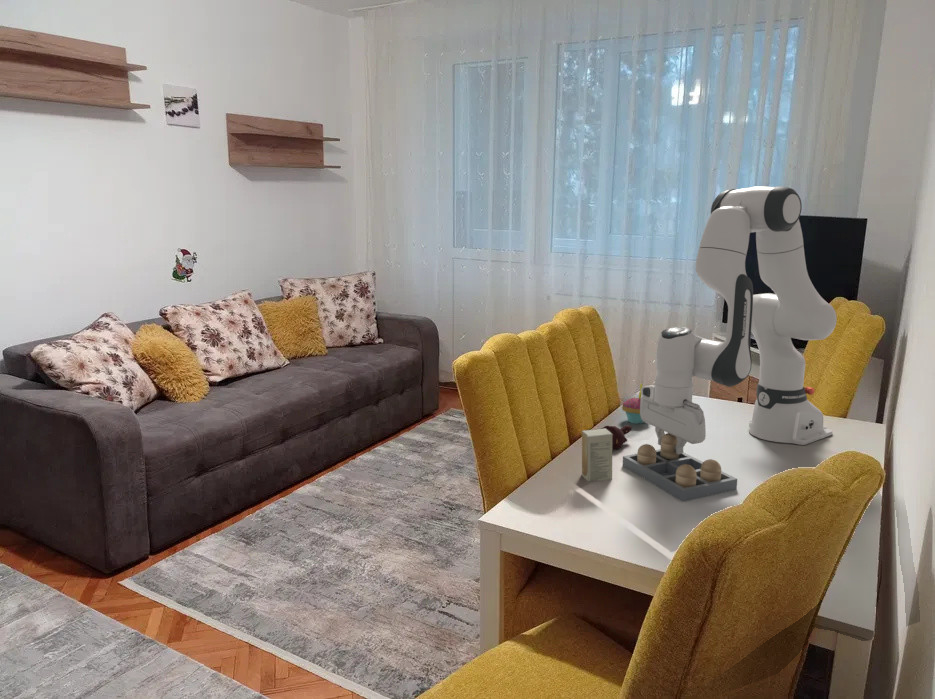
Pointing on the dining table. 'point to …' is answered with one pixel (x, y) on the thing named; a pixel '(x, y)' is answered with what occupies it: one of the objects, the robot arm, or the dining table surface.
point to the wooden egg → (668, 447)
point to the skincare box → (597, 454)
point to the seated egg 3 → (710, 471)
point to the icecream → (618, 435)
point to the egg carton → (665, 476)
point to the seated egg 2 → (686, 476)
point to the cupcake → (633, 408)
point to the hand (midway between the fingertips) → (670, 449)
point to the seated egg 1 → (646, 454)
